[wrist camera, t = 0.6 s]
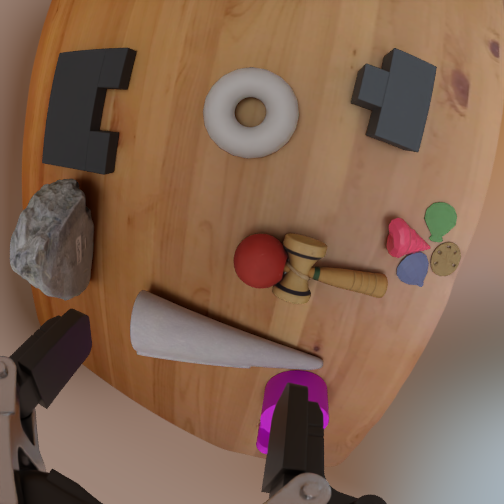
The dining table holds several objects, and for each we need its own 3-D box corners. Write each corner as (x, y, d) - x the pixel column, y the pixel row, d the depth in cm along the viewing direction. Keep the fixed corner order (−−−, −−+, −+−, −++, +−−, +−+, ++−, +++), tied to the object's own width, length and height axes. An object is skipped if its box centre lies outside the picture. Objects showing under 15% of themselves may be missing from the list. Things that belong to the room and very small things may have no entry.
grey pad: (362, 48, 26) (371, 38, 22) (422, 73, 26) (437, 66, 22) (344, 128, 30) (350, 127, 26) (405, 150, 29) (418, 152, 26)
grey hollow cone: (345, 339, 34) (127, 309, 33) (325, 388, 37) (132, 362, 36) (332, 305, 41) (147, 279, 40) (316, 352, 44) (149, 329, 43)
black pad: (69, 55, 29) (59, 53, 27) (137, 51, 29) (128, 47, 27) (51, 160, 35) (42, 163, 33) (114, 172, 35) (104, 174, 33)
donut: (226, 60, 29) (195, 140, 32) (219, 52, 25) (185, 140, 29) (312, 90, 29) (278, 171, 32) (314, 84, 26) (276, 174, 29)
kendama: (386, 242, 35) (242, 211, 33) (404, 273, 30) (238, 241, 28) (363, 289, 39) (231, 266, 38) (375, 323, 34) (226, 301, 32)
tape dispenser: (271, 365, 43) (266, 396, 37) (335, 374, 42) (338, 405, 36) (255, 424, 49) (250, 451, 43) (307, 431, 48) (307, 458, 42)
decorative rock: (76, 169, 35) (-6, 193, 22) (112, 180, 35) (30, 210, 22) (69, 270, 42) (7, 317, 28) (101, 285, 42) (41, 341, 28)
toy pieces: (375, 287, 36) (384, 305, 32) (383, 200, 32) (394, 209, 28) (454, 284, 34) (468, 300, 30) (467, 203, 30) (485, 212, 26)
